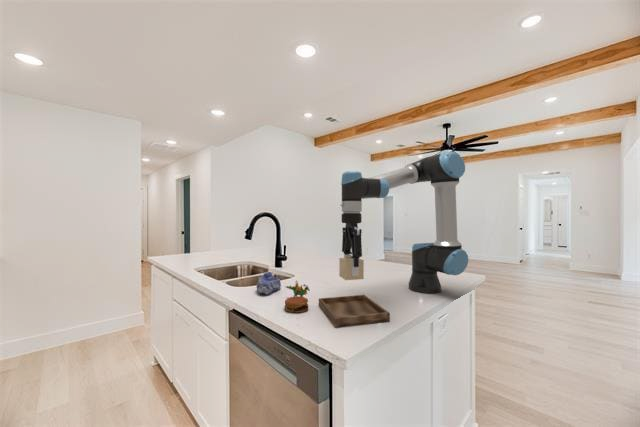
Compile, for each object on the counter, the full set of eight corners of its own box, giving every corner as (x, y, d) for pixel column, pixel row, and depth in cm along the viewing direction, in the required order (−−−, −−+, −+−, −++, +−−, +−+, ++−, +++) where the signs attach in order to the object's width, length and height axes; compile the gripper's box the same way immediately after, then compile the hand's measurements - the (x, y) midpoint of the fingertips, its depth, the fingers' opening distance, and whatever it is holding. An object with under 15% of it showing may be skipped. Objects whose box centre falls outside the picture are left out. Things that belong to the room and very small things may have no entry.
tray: (363, 301, 116) (363, 294, 116) (389, 321, 95) (389, 313, 95) (318, 305, 111) (318, 298, 111) (335, 327, 90) (335, 318, 90)
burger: (281, 307, 109) (281, 295, 109) (303, 304, 113) (303, 293, 113) (288, 315, 100) (289, 303, 100) (312, 312, 104) (312, 300, 104)
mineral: (264, 269, 138) (281, 269, 135) (266, 287, 139) (283, 288, 136) (248, 279, 125) (267, 279, 122) (250, 299, 126) (269, 300, 122)
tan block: (356, 274, 107) (356, 257, 107) (363, 279, 100) (363, 260, 100) (339, 275, 105) (339, 257, 105) (345, 280, 98) (345, 260, 98)
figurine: (308, 301, 116) (308, 282, 116) (283, 298, 120) (283, 280, 120) (311, 299, 119) (311, 280, 119) (286, 296, 123) (286, 278, 123)
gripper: (334, 212, 111) (333, 268, 111) (351, 212, 92) (351, 280, 92) (351, 212, 113) (351, 267, 113) (372, 212, 94) (371, 278, 94)
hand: (351, 273), depth 103 cm, fingers closed on tan block, 7 cm apart
